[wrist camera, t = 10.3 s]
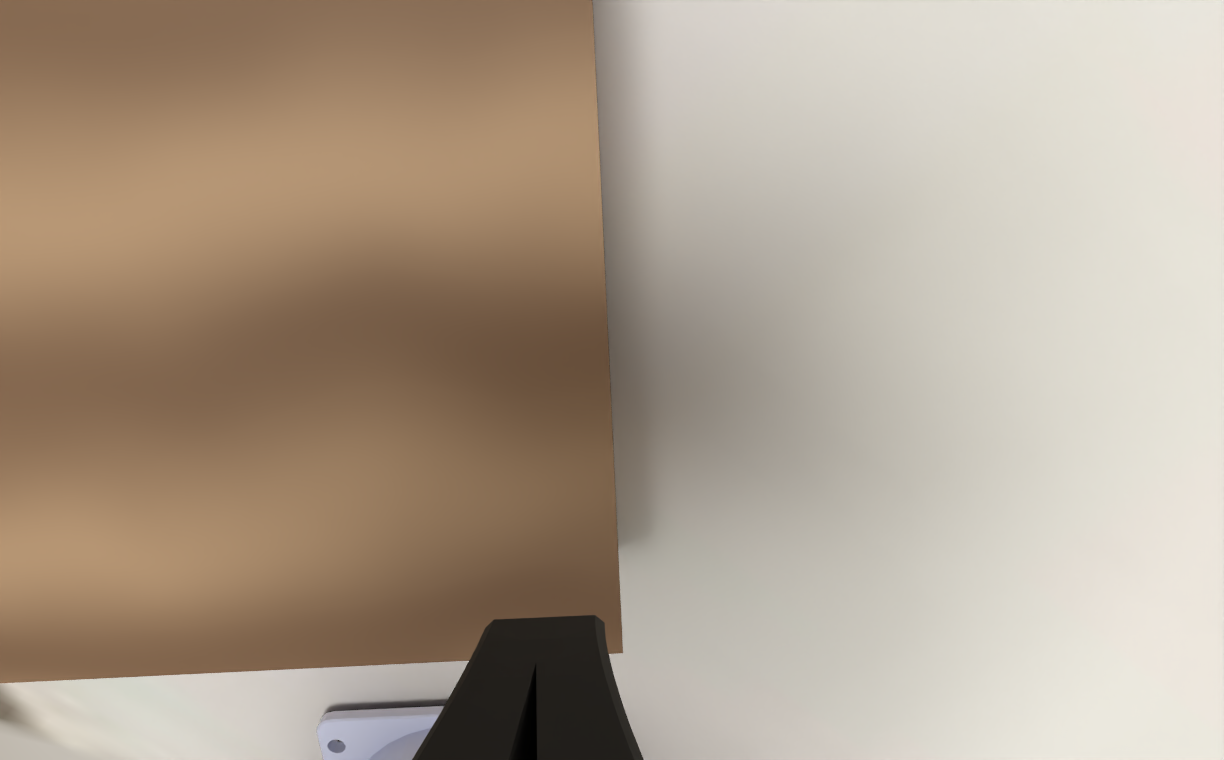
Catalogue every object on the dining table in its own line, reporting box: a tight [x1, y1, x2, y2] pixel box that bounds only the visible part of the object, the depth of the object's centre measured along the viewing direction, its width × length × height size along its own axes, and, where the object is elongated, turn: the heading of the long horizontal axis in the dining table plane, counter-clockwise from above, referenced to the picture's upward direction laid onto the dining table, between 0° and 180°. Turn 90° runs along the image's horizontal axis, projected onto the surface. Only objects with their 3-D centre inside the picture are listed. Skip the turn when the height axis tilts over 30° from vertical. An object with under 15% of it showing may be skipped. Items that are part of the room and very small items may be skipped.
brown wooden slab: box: [0, 0, 623, 683], centre depth 17 cm, size 14×18×4 cm
